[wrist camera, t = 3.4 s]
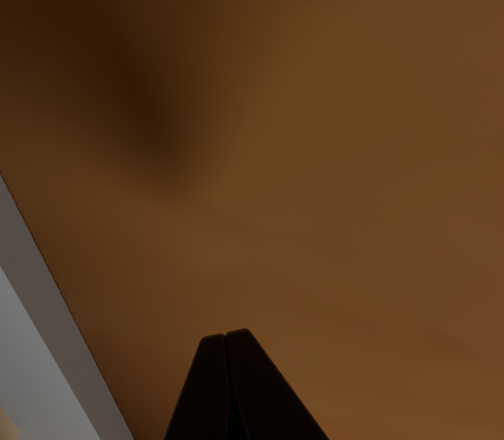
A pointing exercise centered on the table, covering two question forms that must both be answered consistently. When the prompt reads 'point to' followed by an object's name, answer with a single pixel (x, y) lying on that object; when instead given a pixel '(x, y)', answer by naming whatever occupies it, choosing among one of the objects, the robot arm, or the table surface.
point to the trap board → (45, 349)
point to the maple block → (7, 427)
